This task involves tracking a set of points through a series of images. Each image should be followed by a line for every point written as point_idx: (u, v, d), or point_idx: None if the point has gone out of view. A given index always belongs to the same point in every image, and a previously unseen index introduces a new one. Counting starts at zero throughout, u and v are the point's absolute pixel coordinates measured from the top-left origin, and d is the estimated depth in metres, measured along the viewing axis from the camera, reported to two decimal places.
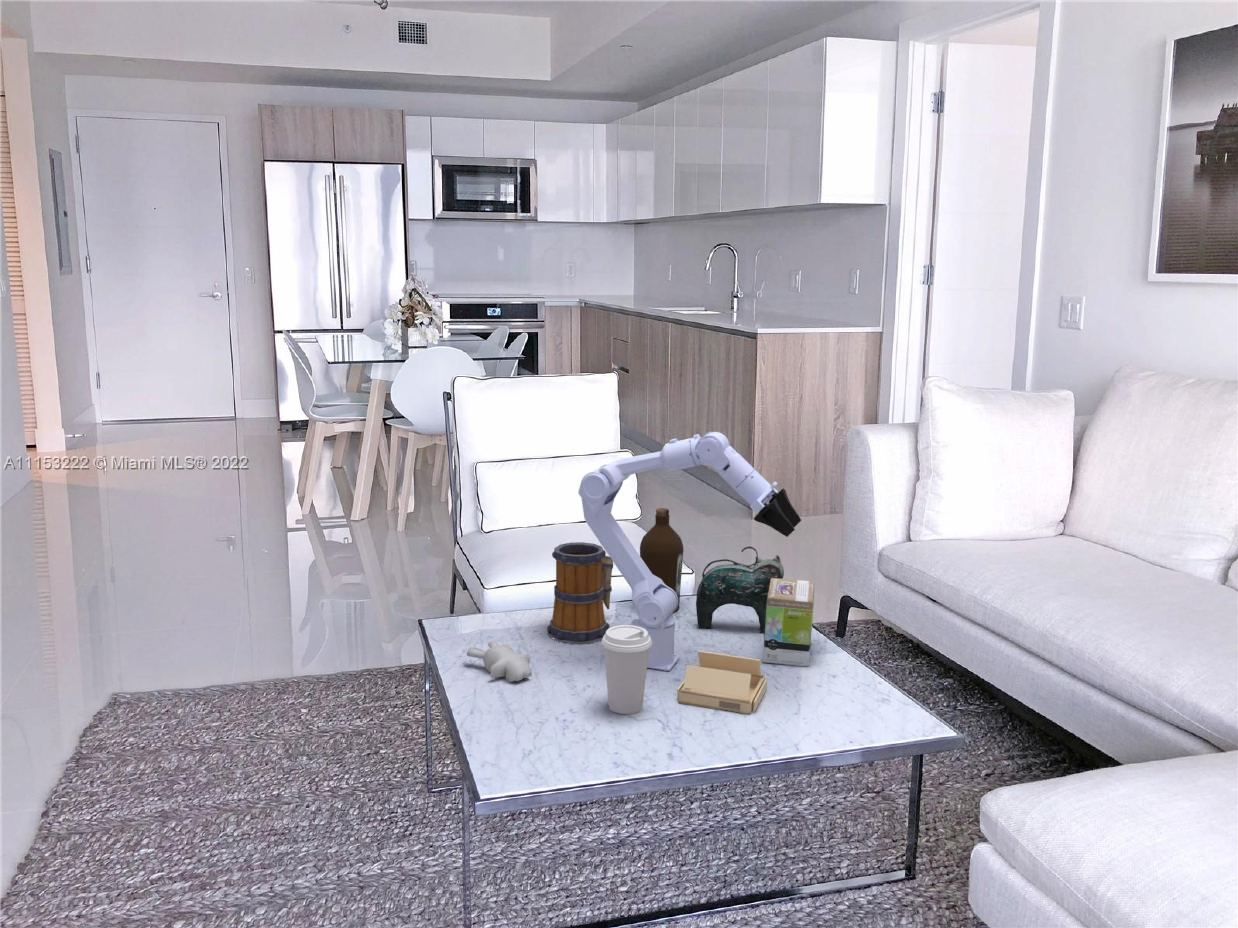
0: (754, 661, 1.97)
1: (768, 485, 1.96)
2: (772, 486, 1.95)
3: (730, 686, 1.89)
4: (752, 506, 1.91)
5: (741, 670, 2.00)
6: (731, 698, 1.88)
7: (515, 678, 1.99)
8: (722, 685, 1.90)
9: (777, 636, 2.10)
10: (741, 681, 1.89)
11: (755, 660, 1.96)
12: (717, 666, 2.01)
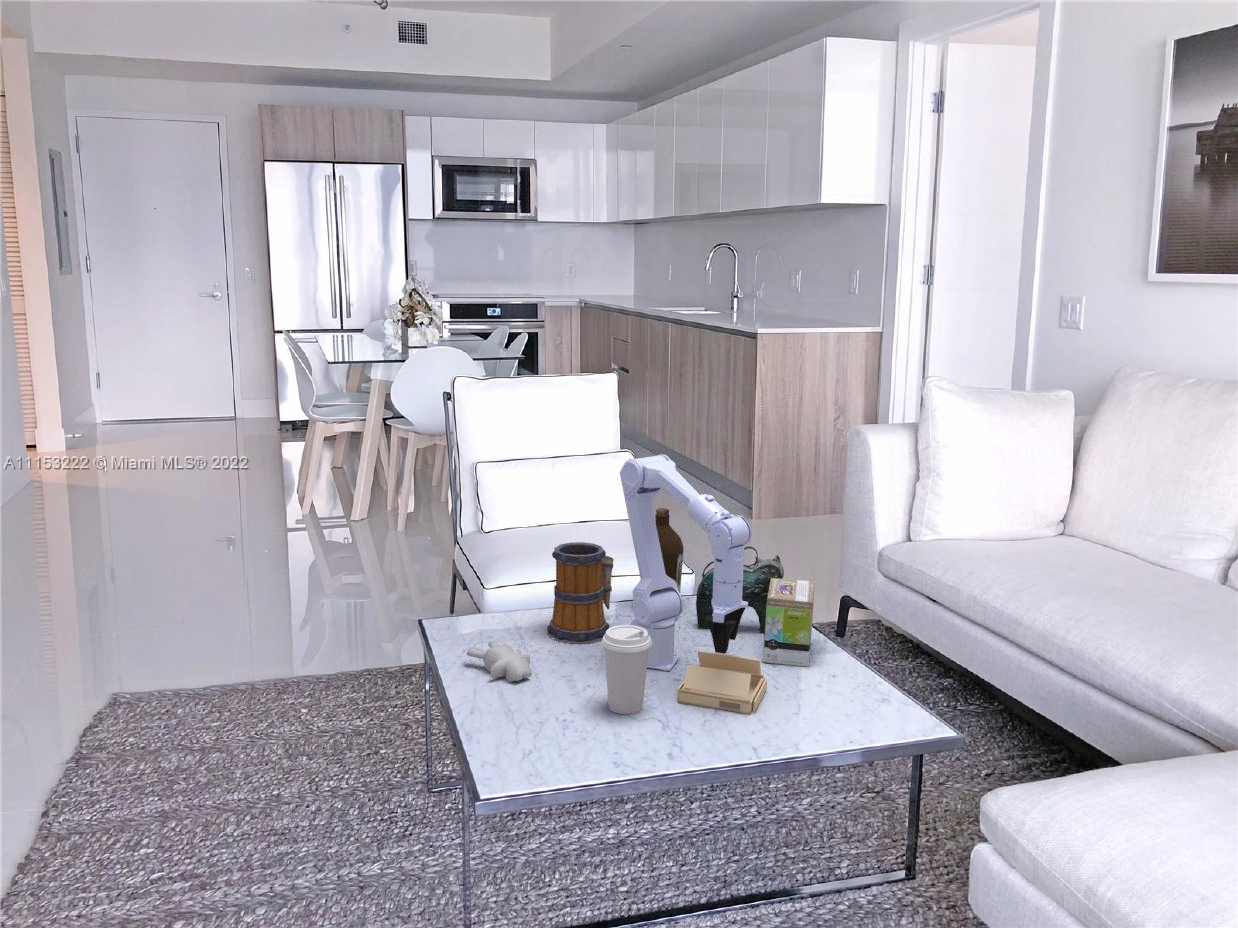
0: (754, 661, 1.97)
1: (740, 601, 1.91)
2: (742, 606, 1.91)
3: (730, 686, 1.89)
4: (715, 613, 1.87)
5: (741, 670, 2.00)
6: (731, 698, 1.88)
7: (515, 678, 1.99)
8: (722, 685, 1.90)
9: (777, 636, 2.10)
10: (741, 681, 1.89)
11: (755, 660, 1.96)
12: (717, 666, 2.01)
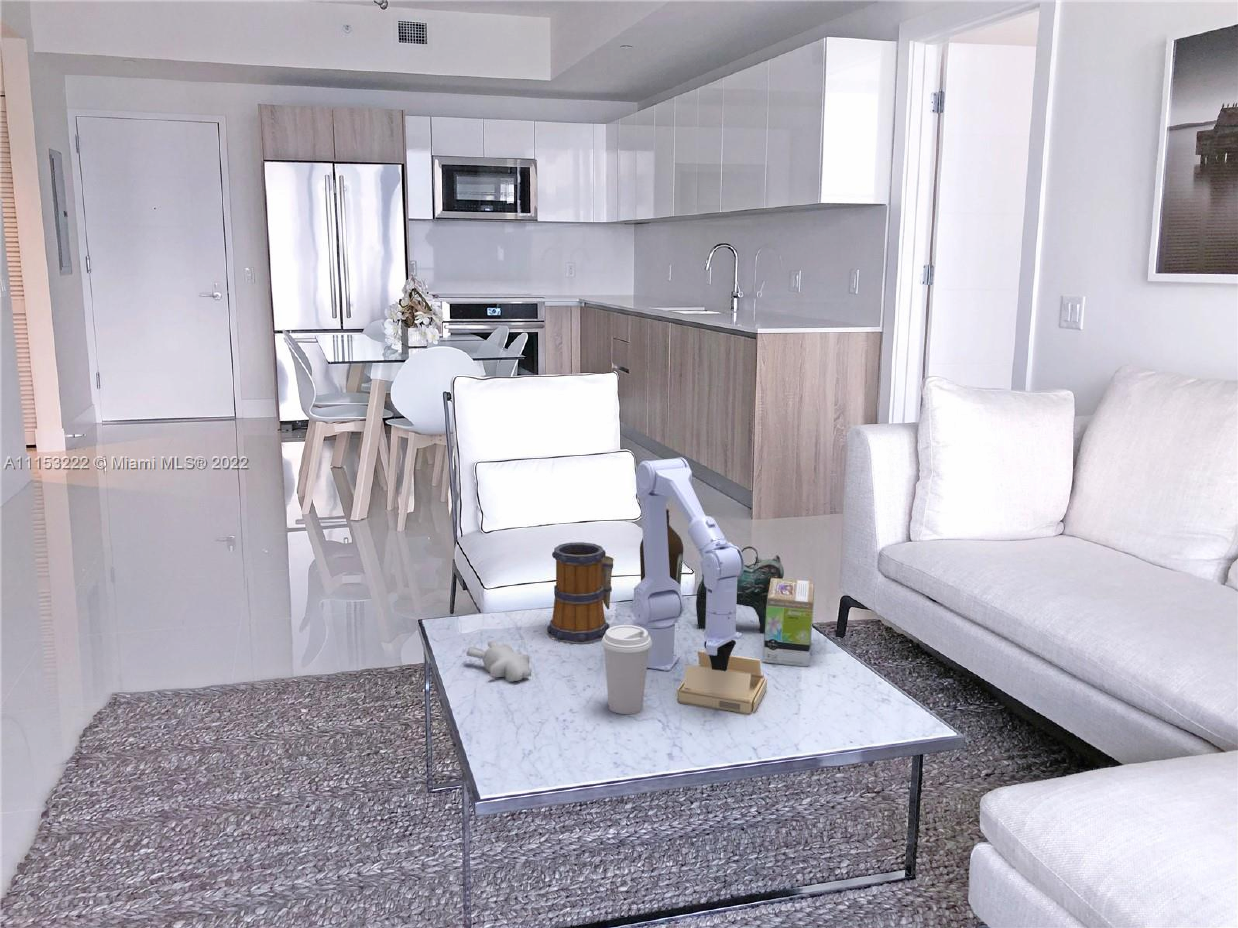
0: (754, 661, 1.97)
1: (733, 633, 1.88)
2: (736, 637, 1.87)
3: (730, 686, 1.89)
4: (708, 646, 1.83)
5: (741, 670, 2.00)
6: (731, 698, 1.88)
7: (515, 678, 1.99)
8: (722, 685, 1.90)
9: (777, 636, 2.10)
10: (741, 681, 1.89)
11: (755, 660, 1.96)
12: None
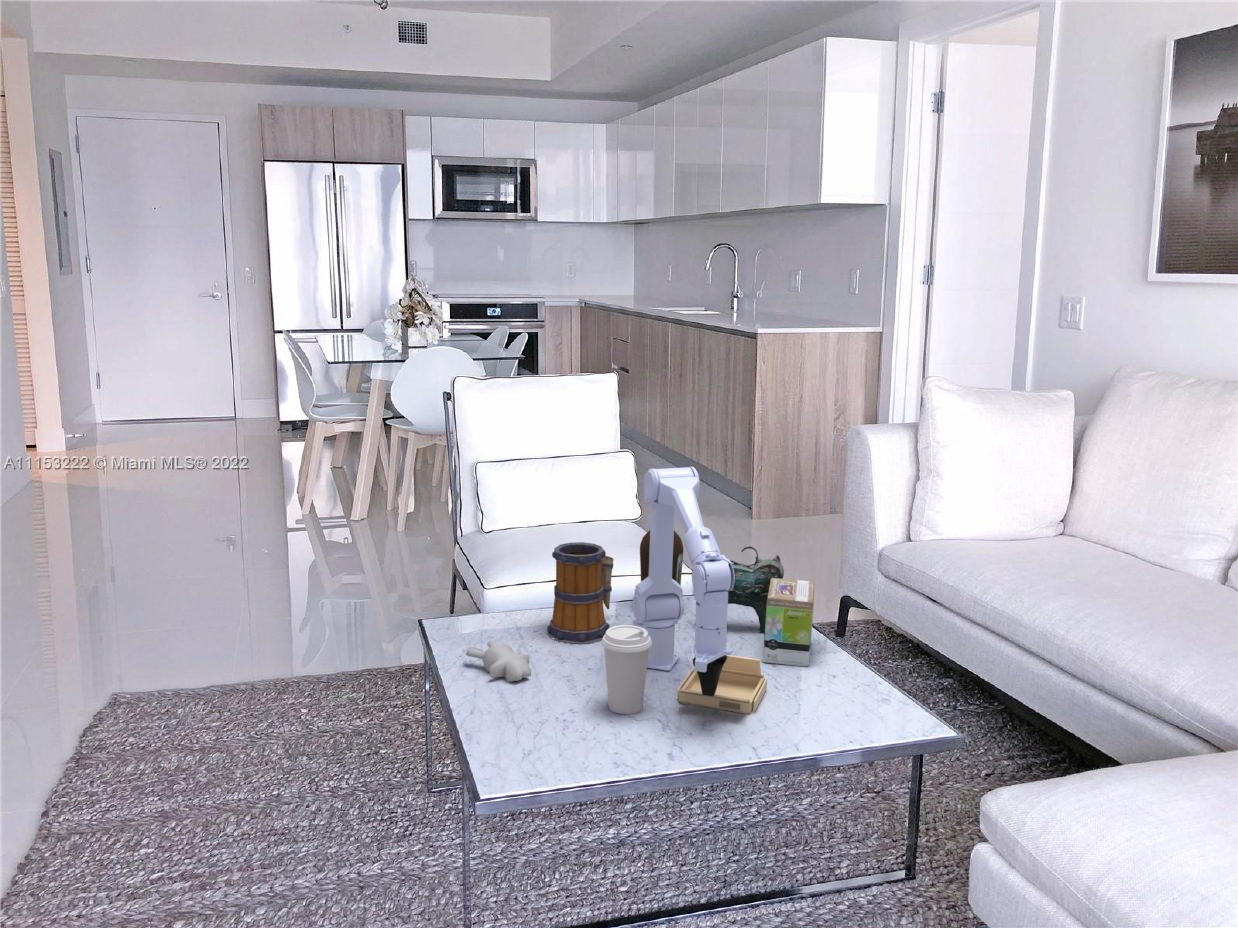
0: (754, 661, 1.97)
1: (724, 648, 1.81)
2: (726, 653, 1.81)
3: None
4: (697, 662, 1.76)
5: (741, 670, 2.00)
6: None
7: (514, 678, 1.99)
8: None
9: (777, 636, 2.10)
10: None
11: (755, 660, 1.96)
12: None
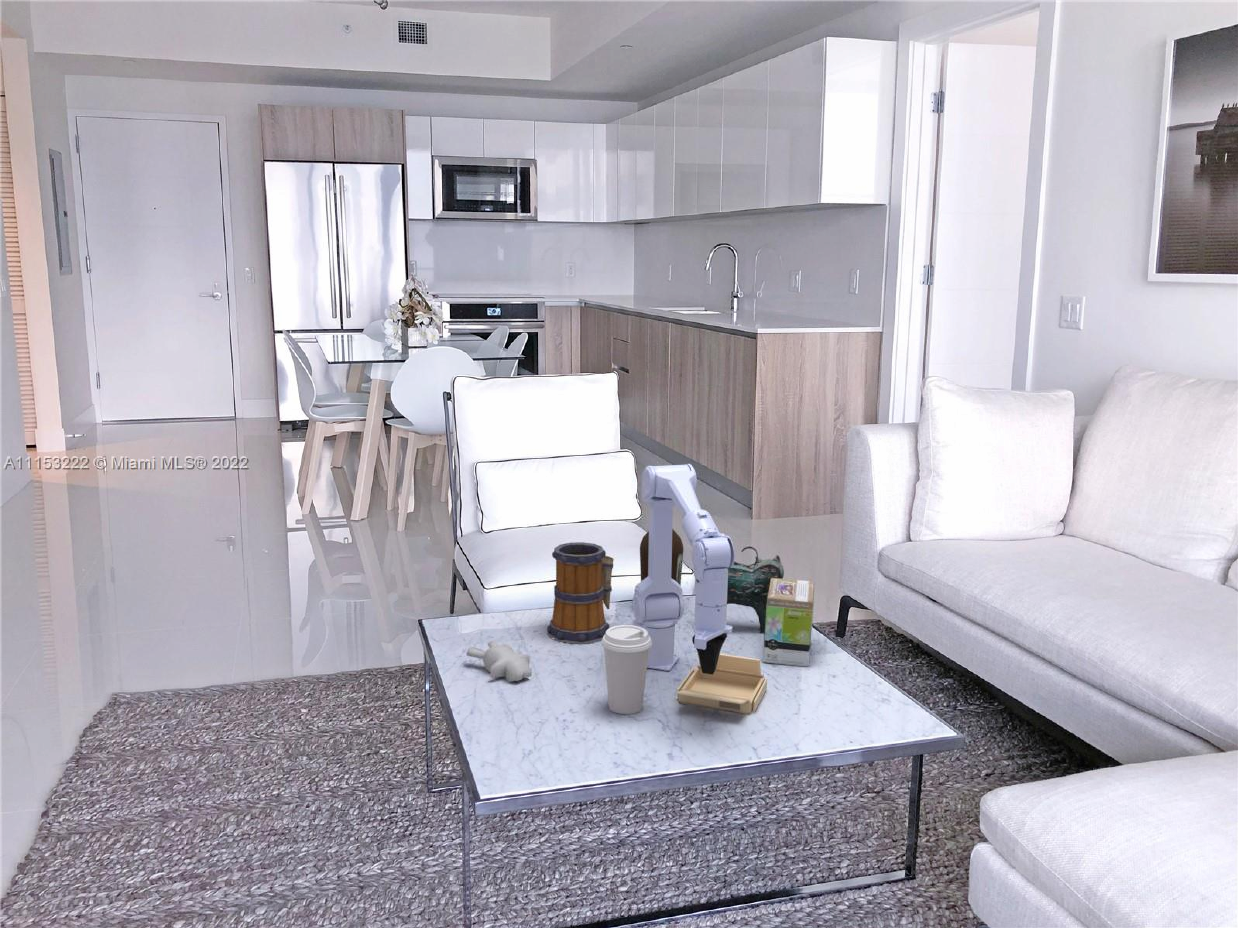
0: (754, 661, 1.97)
1: (724, 626, 1.79)
2: (726, 631, 1.79)
3: None
4: (696, 639, 1.75)
5: (741, 670, 2.00)
6: None
7: (515, 678, 1.99)
8: (718, 698, 1.87)
9: (777, 636, 2.10)
10: None
11: (755, 660, 1.96)
12: (717, 666, 2.01)
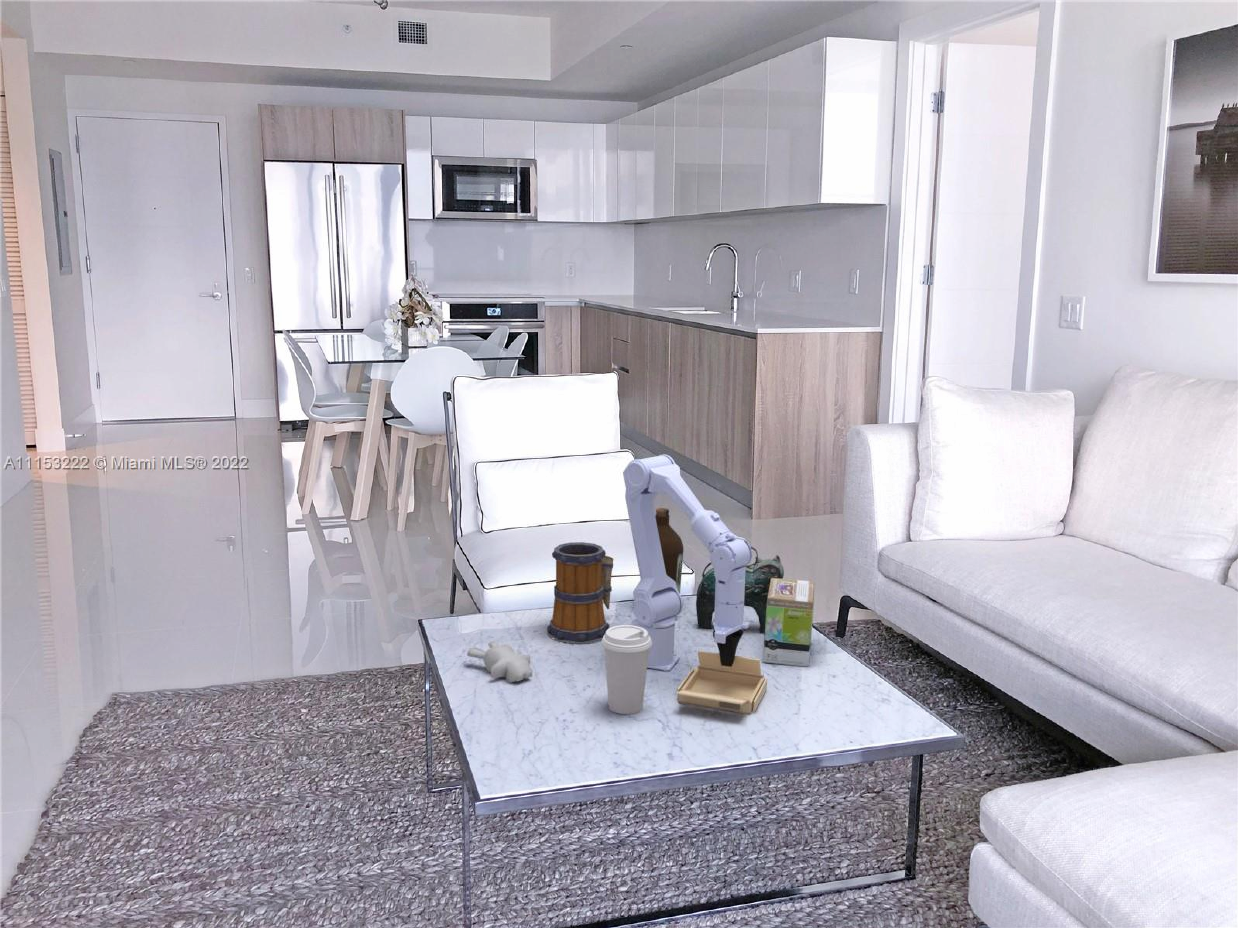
0: (754, 661, 1.97)
1: (741, 622, 1.94)
2: (743, 626, 1.94)
3: (726, 699, 1.87)
4: (716, 634, 1.90)
5: (741, 670, 2.00)
6: None
7: (516, 678, 1.99)
8: None
9: (777, 636, 2.10)
10: None
11: (755, 660, 1.96)
12: (717, 666, 2.01)
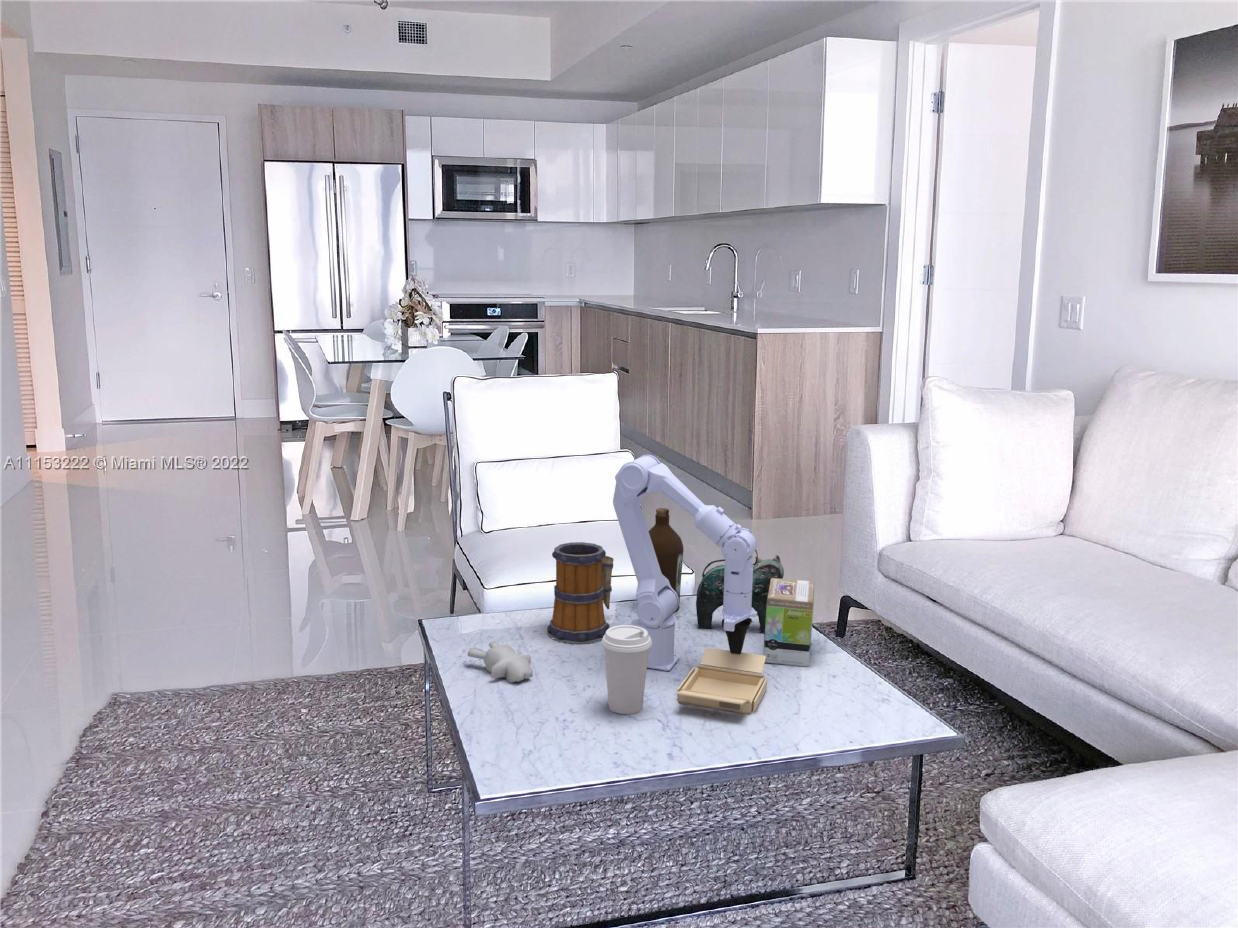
0: (760, 657, 2.02)
1: (749, 611, 2.01)
2: (752, 615, 2.00)
3: (726, 699, 1.87)
4: (726, 622, 1.96)
5: (743, 668, 2.01)
6: None
7: (516, 679, 1.99)
8: None
9: (777, 636, 2.10)
10: None
11: (761, 656, 2.03)
12: (719, 664, 2.03)
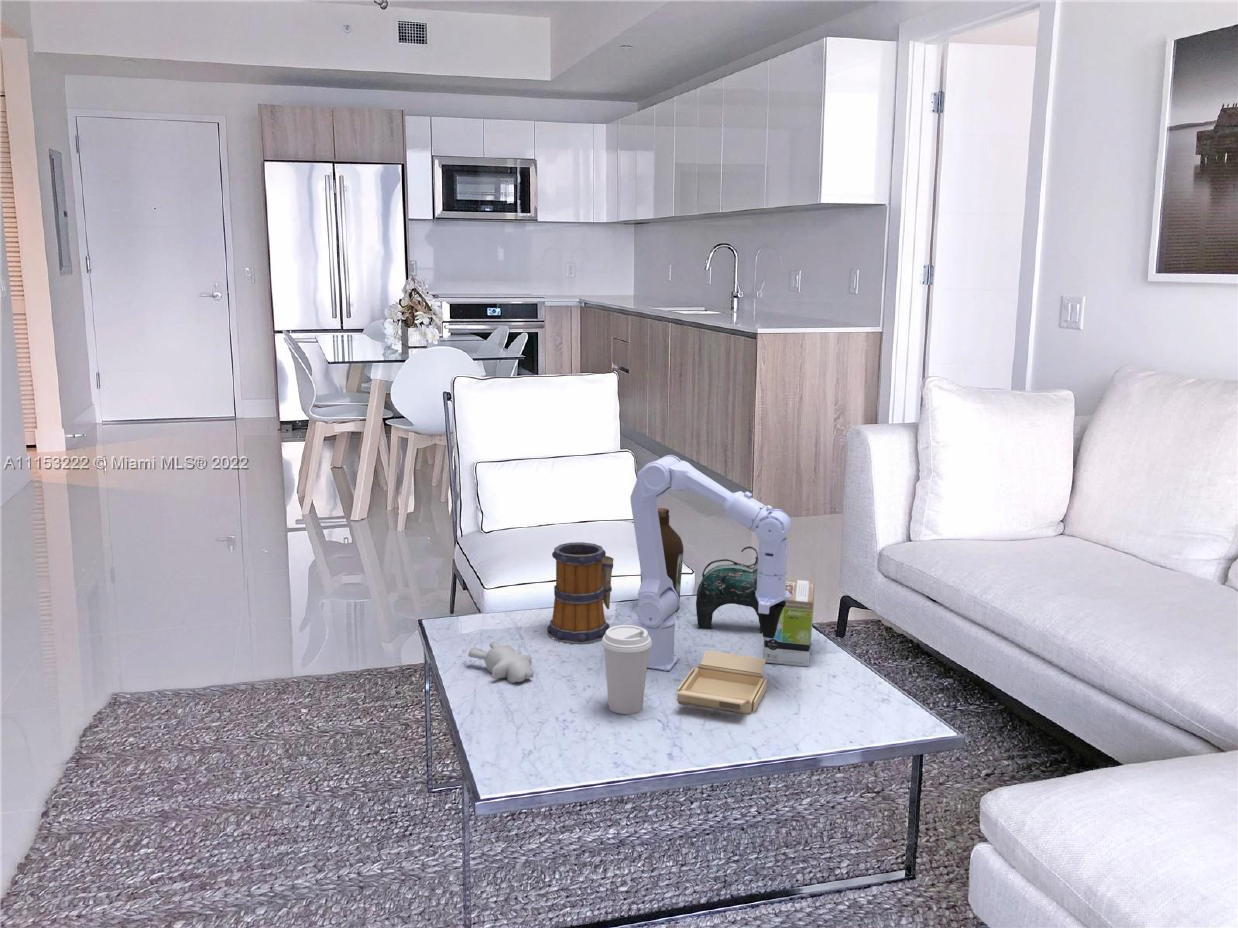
0: (760, 660, 2.03)
1: (784, 593, 1.97)
2: (786, 598, 1.96)
3: (726, 699, 1.87)
4: (760, 605, 1.92)
5: (743, 669, 2.01)
6: None
7: (517, 679, 1.98)
8: None
9: (777, 636, 2.10)
10: None
11: (762, 659, 2.03)
12: (719, 665, 2.03)
